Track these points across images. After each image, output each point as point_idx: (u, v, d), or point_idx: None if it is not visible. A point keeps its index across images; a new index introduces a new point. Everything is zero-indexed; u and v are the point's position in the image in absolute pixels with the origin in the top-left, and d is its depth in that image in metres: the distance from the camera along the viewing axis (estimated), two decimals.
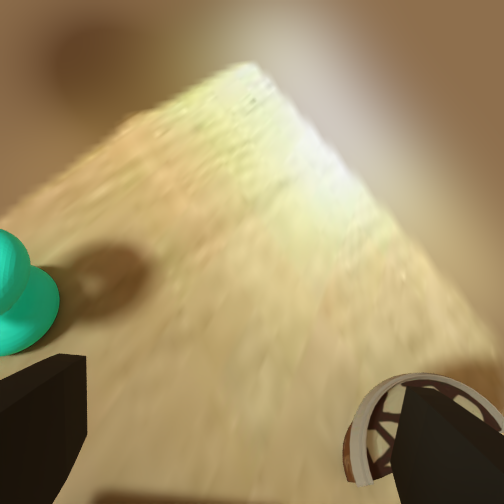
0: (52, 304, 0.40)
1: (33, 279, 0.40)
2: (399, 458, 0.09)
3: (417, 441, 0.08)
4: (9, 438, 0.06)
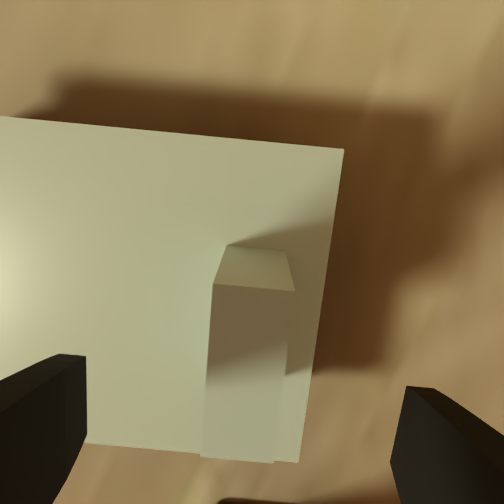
0: None
1: None
2: (399, 458, 0.09)
3: (417, 441, 0.08)
4: (9, 438, 0.06)
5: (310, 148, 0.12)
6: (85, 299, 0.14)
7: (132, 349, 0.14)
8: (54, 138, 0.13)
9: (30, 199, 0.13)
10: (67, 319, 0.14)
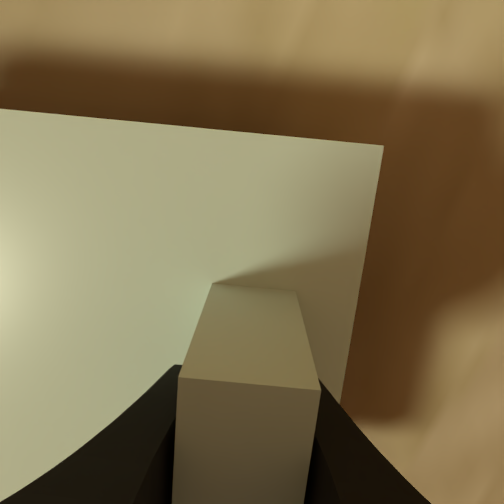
0: None
1: None
2: None
3: None
4: (170, 453, 0.06)
5: (334, 144, 0.08)
6: (15, 356, 0.10)
7: (83, 423, 0.10)
8: None
9: None
10: None
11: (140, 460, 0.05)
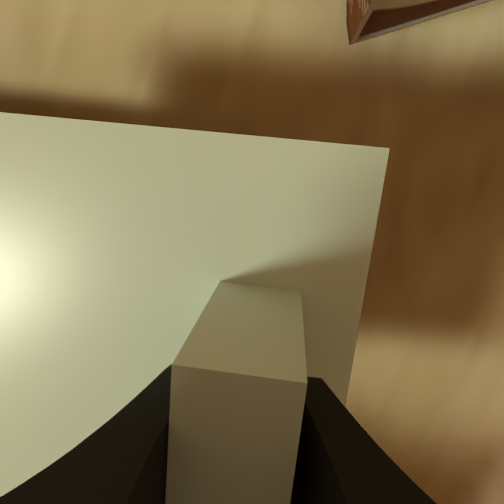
0: None
1: None
2: None
3: None
4: (165, 452, 0.06)
5: (339, 147, 0.09)
6: (37, 345, 0.11)
7: (98, 411, 0.11)
8: None
9: None
10: (16, 369, 0.11)
11: (134, 459, 0.05)
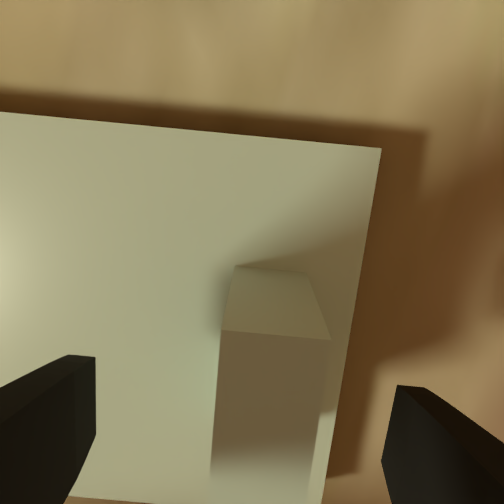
0: None
1: None
2: (390, 457, 0.09)
3: (407, 440, 0.08)
4: (22, 439, 0.06)
5: (339, 147, 0.10)
6: (63, 330, 0.11)
7: (121, 389, 0.12)
8: (21, 135, 0.10)
9: None
10: (42, 353, 0.12)
11: None
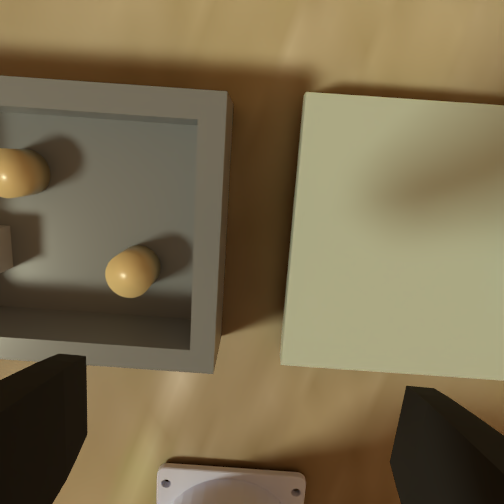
0: None
1: None
2: (399, 458, 0.09)
3: (417, 441, 0.08)
4: (9, 438, 0.06)
5: None
6: (446, 249, 0.17)
7: (477, 291, 0.17)
8: (448, 115, 0.16)
9: (418, 166, 0.16)
10: (428, 267, 0.17)
11: None
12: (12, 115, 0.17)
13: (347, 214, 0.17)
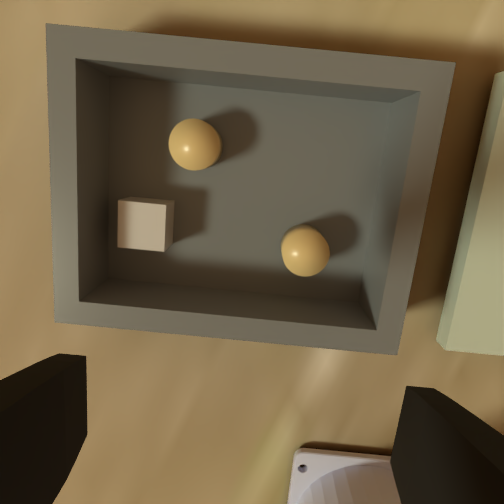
0: None
1: None
2: (399, 458, 0.09)
3: (417, 441, 0.08)
4: (9, 438, 0.06)
5: None
6: None
7: None
8: None
9: None
10: None
11: None
12: (191, 86, 0.17)
13: None
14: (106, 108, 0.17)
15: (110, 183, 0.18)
